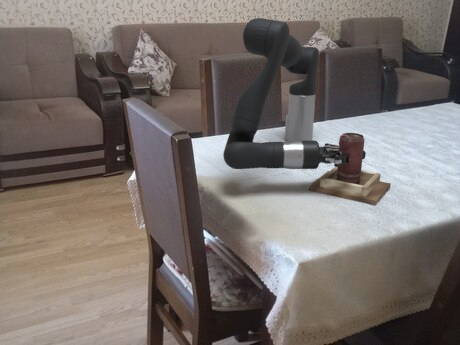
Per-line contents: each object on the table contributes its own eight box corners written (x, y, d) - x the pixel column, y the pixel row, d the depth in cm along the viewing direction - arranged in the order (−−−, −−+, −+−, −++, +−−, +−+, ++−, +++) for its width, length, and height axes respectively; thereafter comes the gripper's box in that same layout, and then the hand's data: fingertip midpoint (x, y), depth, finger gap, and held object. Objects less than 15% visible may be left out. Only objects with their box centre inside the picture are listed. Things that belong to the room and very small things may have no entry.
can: (332, 181, 125) (336, 132, 120) (354, 180, 125) (360, 131, 120) (339, 189, 119) (343, 138, 114) (362, 189, 120) (368, 138, 115)
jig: (308, 190, 122) (309, 177, 121) (327, 174, 133) (328, 162, 132) (375, 205, 113) (377, 191, 112) (390, 187, 124) (391, 174, 123)
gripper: (305, 148, 112) (374, 148, 112) (295, 134, 124) (358, 133, 125) (303, 177, 114) (371, 176, 115) (294, 160, 127) (355, 159, 127)
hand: (364, 154), depth 120 cm, fingers closed
